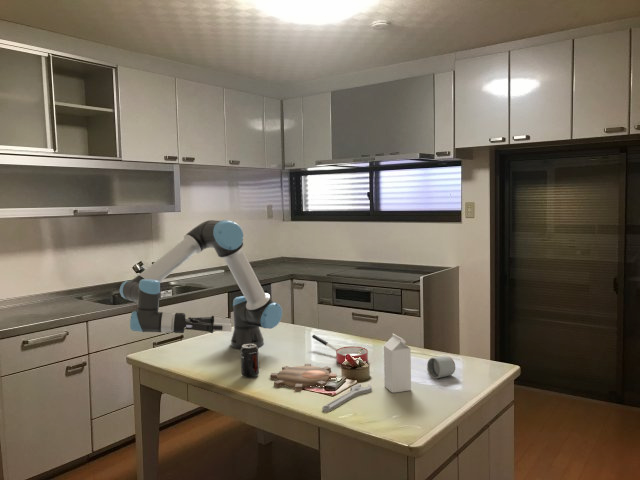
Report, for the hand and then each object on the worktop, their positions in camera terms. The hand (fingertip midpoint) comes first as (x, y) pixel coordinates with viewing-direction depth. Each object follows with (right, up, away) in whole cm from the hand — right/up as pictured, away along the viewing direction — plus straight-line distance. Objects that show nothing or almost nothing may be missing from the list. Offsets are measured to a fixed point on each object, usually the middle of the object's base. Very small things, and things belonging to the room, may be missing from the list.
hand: (231, 324), depth 202 cm
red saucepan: (+41, -17, +23) cm, 50 cm away
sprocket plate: (+28, -20, -3) cm, 34 cm away
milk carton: (+61, -20, -16) cm, 67 cm away
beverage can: (+7, -20, +2) cm, 21 cm away
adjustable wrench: (+43, -22, -23) cm, 53 cm away
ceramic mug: (+79, -19, -4) cm, 81 cm away
